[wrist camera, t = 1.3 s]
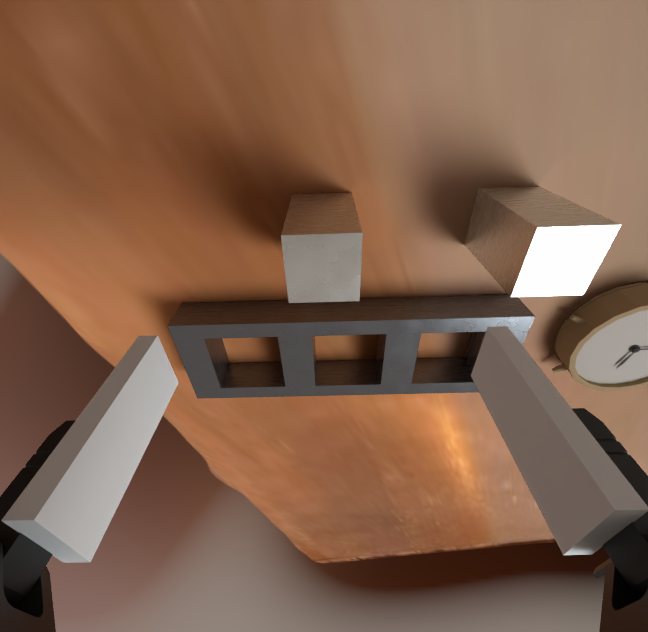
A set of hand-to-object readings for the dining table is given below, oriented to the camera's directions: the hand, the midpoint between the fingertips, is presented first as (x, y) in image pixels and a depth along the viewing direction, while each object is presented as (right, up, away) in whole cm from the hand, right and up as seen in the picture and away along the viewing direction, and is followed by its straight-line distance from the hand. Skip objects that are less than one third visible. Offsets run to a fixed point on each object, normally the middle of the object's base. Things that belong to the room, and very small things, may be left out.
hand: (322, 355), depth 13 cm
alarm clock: (+31, +1, +19) cm, 36 cm away
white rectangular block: (+14, +9, +12) cm, 21 cm away
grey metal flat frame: (+2, -1, +19) cm, 19 cm away
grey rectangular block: (0, +9, +12) cm, 15 cm away
